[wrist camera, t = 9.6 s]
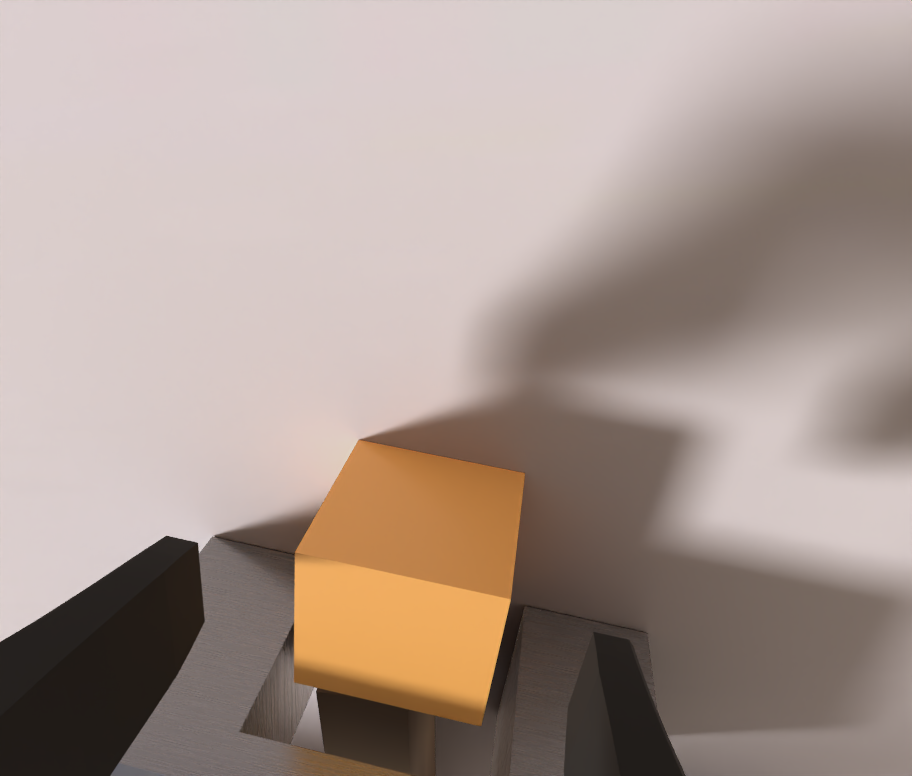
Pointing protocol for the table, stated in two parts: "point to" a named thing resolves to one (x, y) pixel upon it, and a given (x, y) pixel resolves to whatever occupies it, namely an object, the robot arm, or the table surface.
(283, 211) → the table surface
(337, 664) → the orange cube
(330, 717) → the push rod
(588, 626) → the grey bridge block
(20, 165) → the table surface
